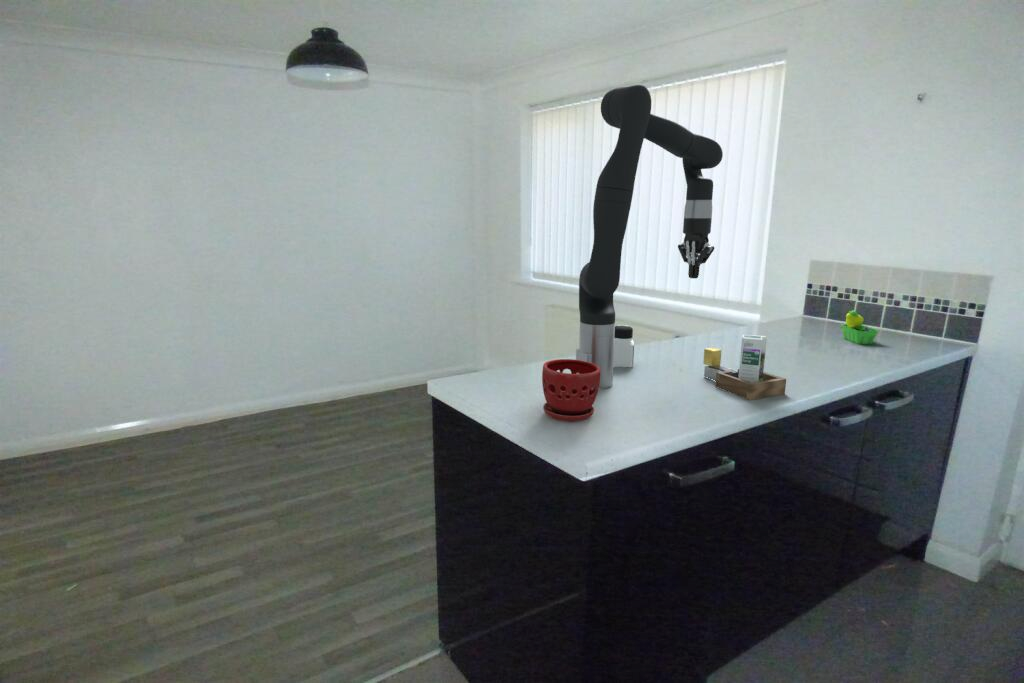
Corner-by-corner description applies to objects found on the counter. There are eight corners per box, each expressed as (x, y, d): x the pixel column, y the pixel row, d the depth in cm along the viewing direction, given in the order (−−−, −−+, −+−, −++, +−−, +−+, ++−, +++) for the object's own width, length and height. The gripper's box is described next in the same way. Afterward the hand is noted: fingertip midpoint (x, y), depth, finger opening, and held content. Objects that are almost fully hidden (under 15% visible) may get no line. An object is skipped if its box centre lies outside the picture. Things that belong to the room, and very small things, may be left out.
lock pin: (730, 381, 149) (732, 357, 147) (702, 371, 158) (704, 348, 156) (739, 380, 150) (741, 356, 148) (711, 370, 159) (713, 347, 158)
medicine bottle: (633, 368, 166) (634, 329, 163) (608, 366, 167) (610, 328, 165) (632, 362, 173) (634, 324, 170) (609, 360, 174) (611, 323, 171)
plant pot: (558, 429, 119) (559, 376, 116) (532, 410, 131) (532, 361, 128) (610, 420, 124) (612, 369, 121) (580, 402, 136) (581, 355, 133)
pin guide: (724, 385, 149) (725, 373, 149) (703, 377, 157) (704, 366, 156) (738, 382, 151) (739, 371, 151) (717, 375, 158) (718, 364, 158)
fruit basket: (878, 344, 195) (882, 313, 192) (852, 344, 195) (857, 313, 192) (858, 337, 206) (863, 307, 203) (834, 337, 206) (838, 307, 203)
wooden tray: (750, 400, 137) (751, 384, 136) (715, 386, 148) (716, 372, 147) (784, 393, 142) (786, 379, 141) (748, 381, 153) (749, 367, 152)
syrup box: (737, 392, 143) (742, 337, 140) (737, 385, 149) (742, 333, 146) (761, 394, 141) (766, 339, 138) (760, 388, 147) (766, 334, 143)
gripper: (725, 216, 152) (720, 279, 156) (692, 216, 164) (687, 275, 168) (704, 217, 149) (699, 281, 153) (671, 216, 161) (667, 276, 165)
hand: (693, 278), depth 160 cm, fingers closed
